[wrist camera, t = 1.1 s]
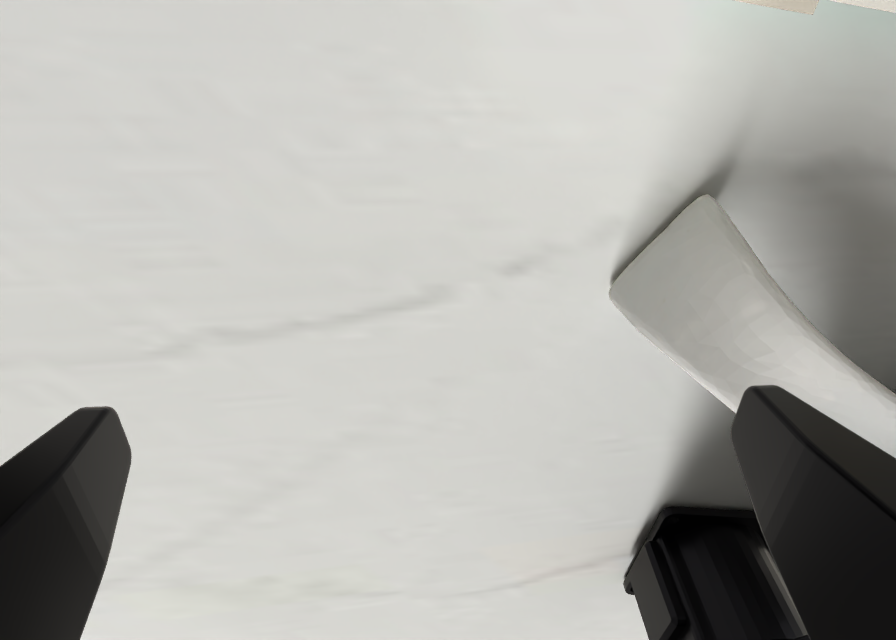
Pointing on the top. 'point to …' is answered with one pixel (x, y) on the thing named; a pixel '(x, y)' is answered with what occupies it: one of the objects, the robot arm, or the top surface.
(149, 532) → the top surface
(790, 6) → the block
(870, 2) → the header board
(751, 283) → the spoon rest
